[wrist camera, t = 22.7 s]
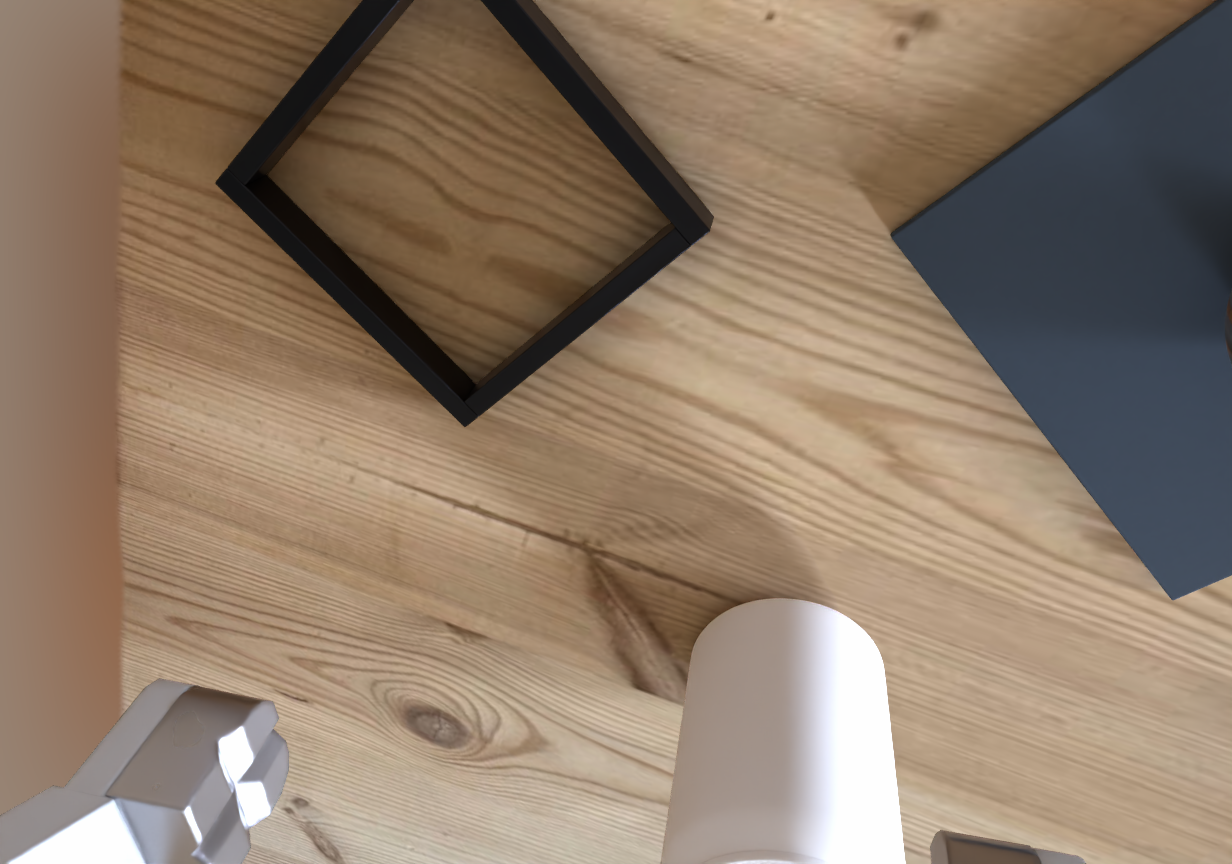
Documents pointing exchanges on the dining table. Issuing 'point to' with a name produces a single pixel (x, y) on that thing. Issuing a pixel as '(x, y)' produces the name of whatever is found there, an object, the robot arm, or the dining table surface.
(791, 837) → the beverage can
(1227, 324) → the vase
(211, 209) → the dining table surface
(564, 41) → the black open square frame
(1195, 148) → the mat
